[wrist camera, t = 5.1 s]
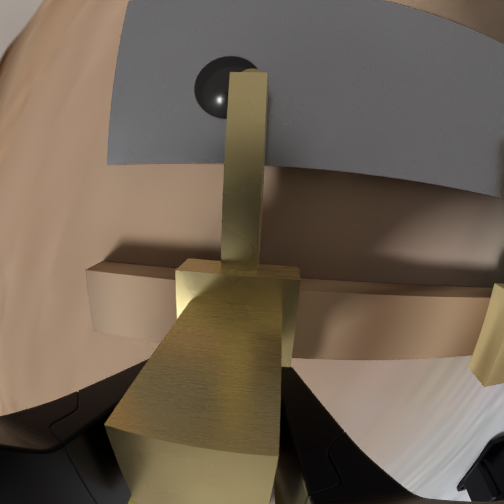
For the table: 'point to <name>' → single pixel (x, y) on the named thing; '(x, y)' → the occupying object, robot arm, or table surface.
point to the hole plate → (314, 88)
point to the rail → (328, 317)
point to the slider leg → (217, 349)
